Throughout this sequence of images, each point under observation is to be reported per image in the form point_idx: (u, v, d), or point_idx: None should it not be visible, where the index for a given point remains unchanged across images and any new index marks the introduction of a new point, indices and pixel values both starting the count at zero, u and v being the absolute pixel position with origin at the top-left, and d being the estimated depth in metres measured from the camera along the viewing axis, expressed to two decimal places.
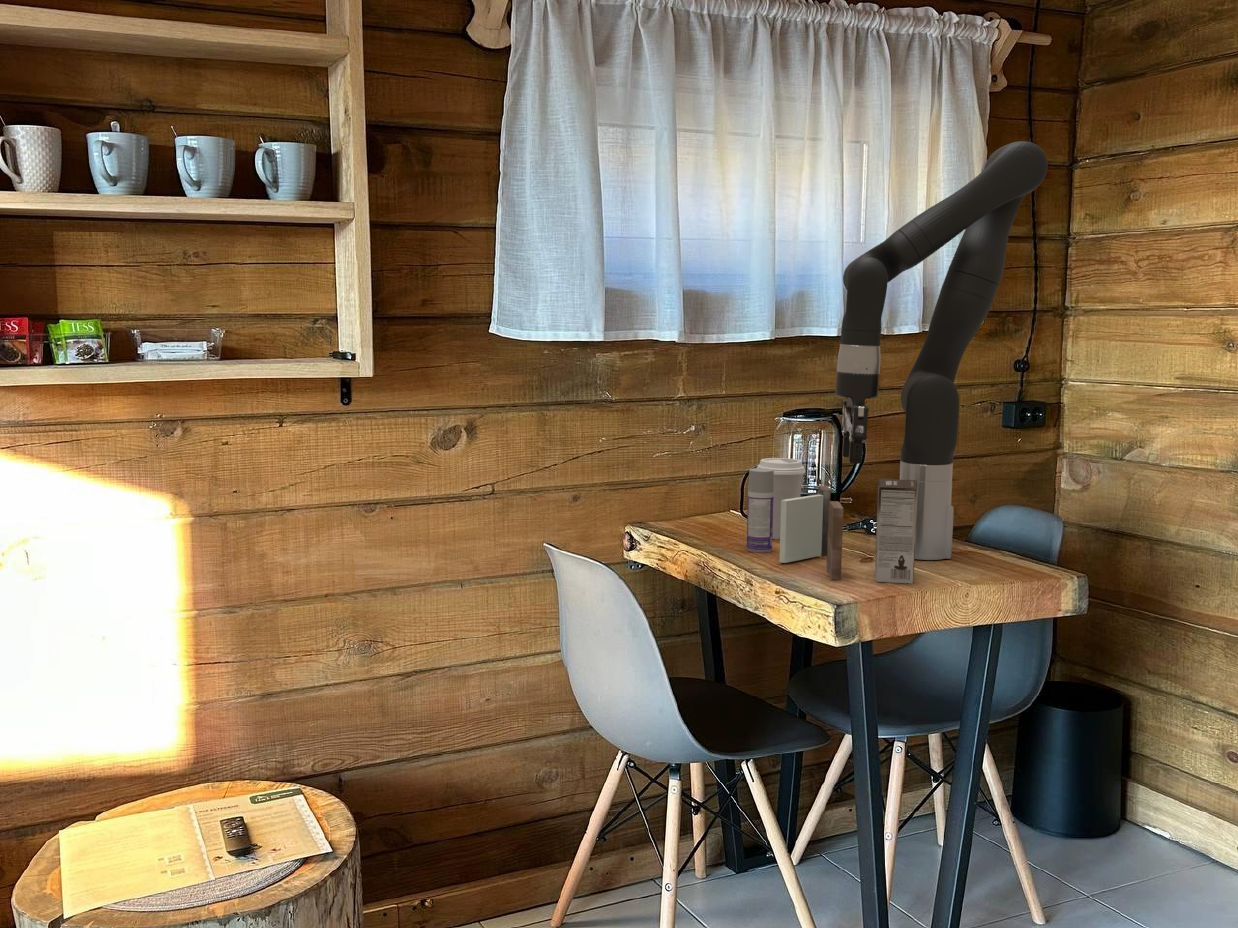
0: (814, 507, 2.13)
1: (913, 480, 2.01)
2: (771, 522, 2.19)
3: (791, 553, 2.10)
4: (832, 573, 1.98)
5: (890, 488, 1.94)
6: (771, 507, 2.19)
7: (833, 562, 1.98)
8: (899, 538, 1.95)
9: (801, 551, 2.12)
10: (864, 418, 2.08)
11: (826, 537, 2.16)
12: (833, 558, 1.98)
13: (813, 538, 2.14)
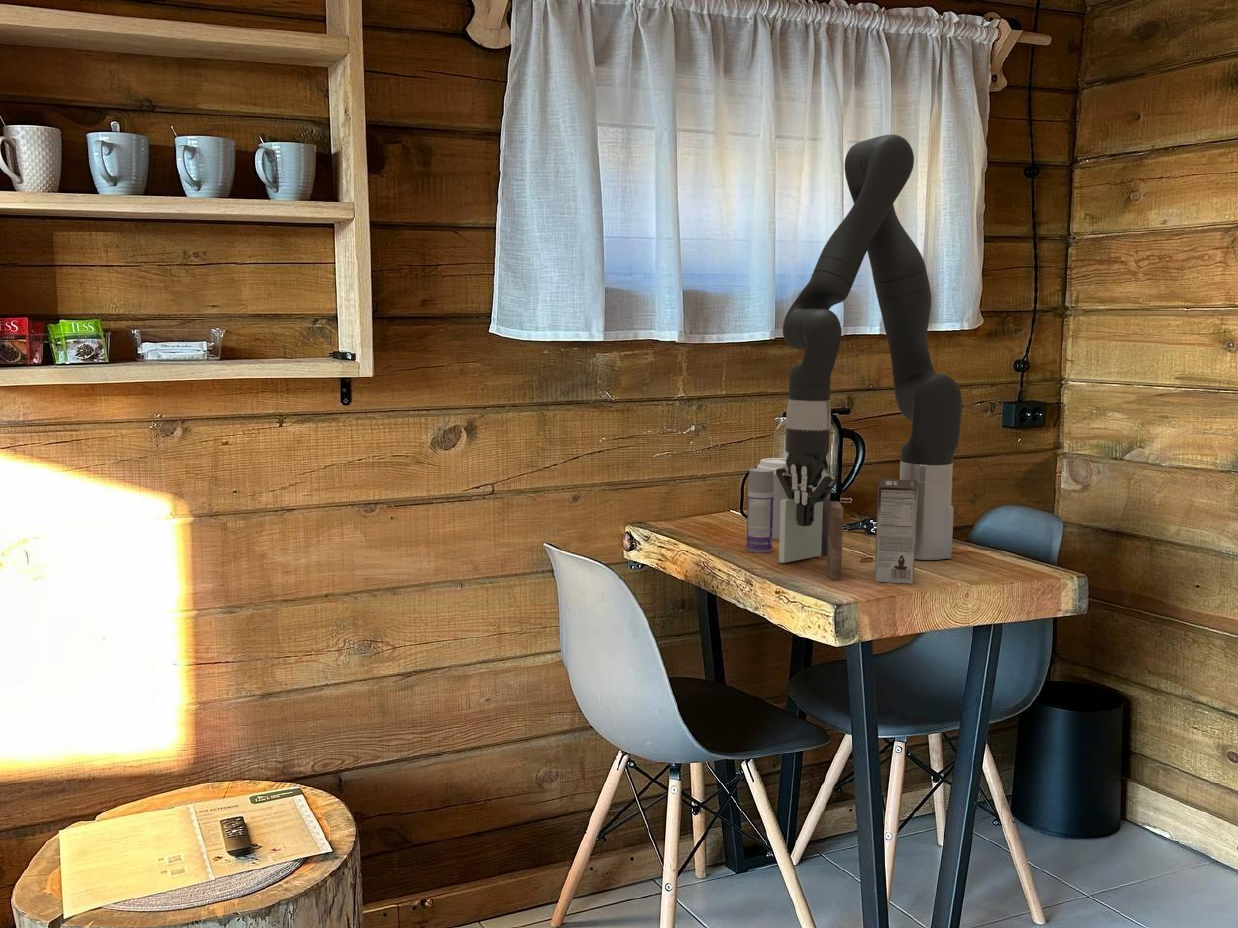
0: (814, 507, 2.13)
1: (913, 480, 2.01)
2: (771, 522, 2.19)
3: (790, 553, 2.10)
4: (832, 573, 1.98)
5: (890, 488, 1.94)
6: (771, 507, 2.19)
7: (833, 562, 1.98)
8: (899, 538, 1.95)
9: (800, 551, 2.12)
10: (830, 487, 2.03)
11: (826, 537, 2.16)
12: (833, 558, 1.98)
13: (813, 538, 2.14)
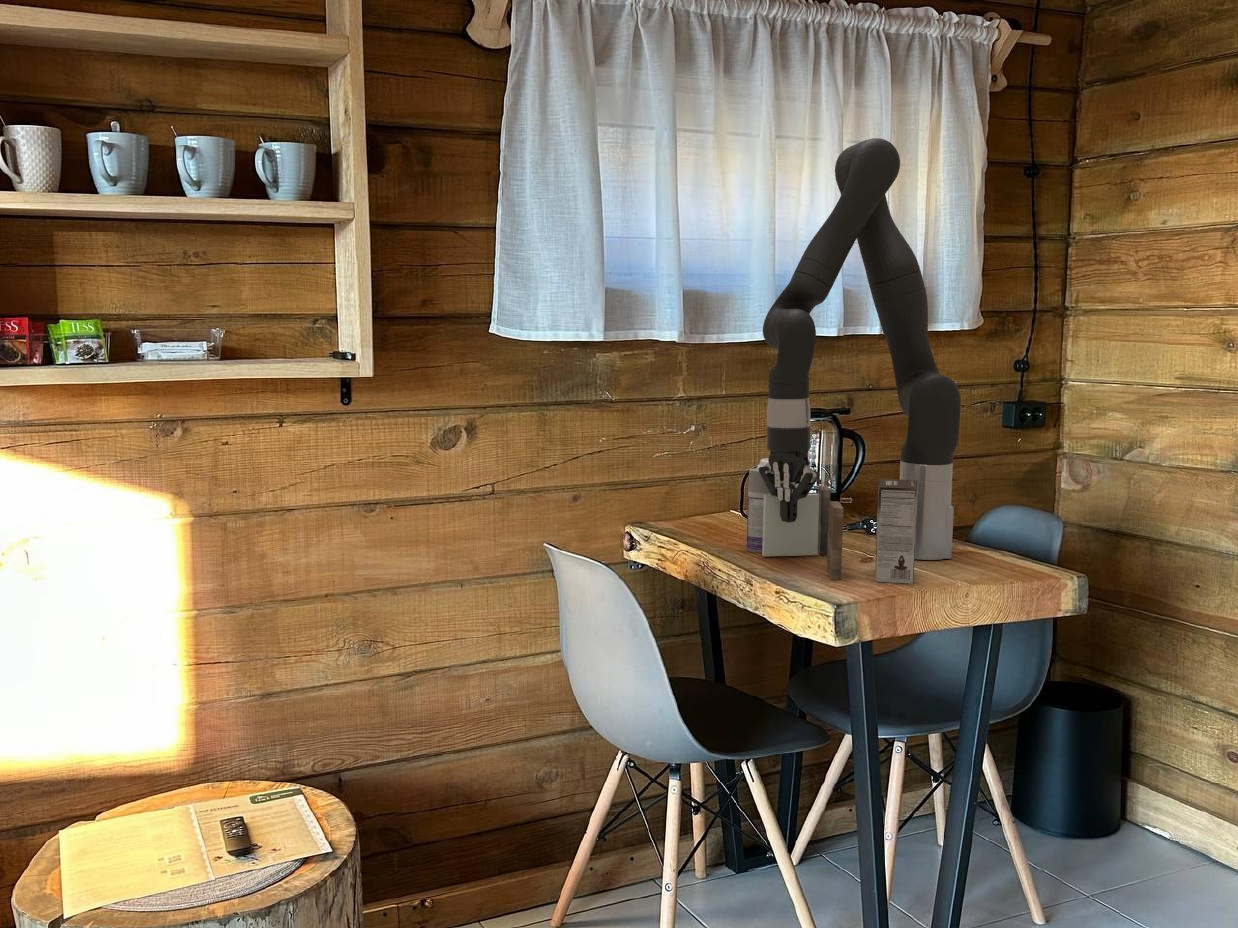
0: (806, 505, 2.14)
1: (913, 480, 2.01)
2: None
3: (773, 548, 2.14)
4: (832, 573, 1.98)
5: (890, 488, 1.94)
6: None
7: (833, 562, 1.98)
8: (899, 538, 1.95)
9: (788, 547, 2.15)
10: (812, 483, 2.07)
11: (826, 537, 2.16)
12: (833, 558, 1.98)
13: (805, 536, 2.15)
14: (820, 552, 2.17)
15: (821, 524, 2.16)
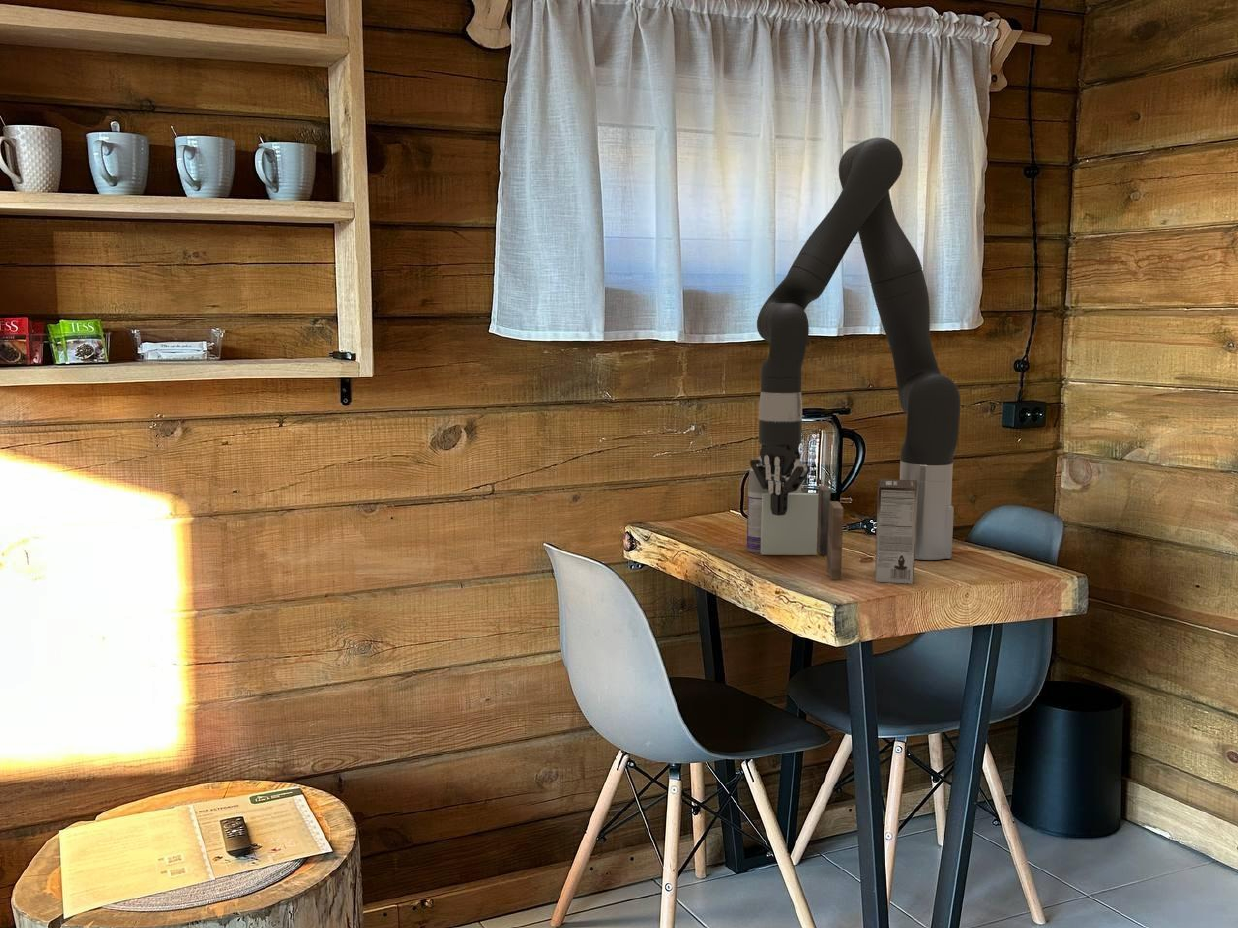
0: (805, 505, 2.15)
1: (913, 480, 2.01)
2: None
3: (771, 546, 2.16)
4: (832, 573, 1.98)
5: (890, 488, 1.94)
6: None
7: (833, 562, 1.98)
8: (899, 538, 1.95)
9: (786, 546, 2.16)
10: (803, 477, 2.08)
11: (826, 537, 2.16)
12: (833, 558, 1.98)
13: (803, 536, 2.16)
14: (820, 552, 2.17)
15: (821, 524, 2.16)
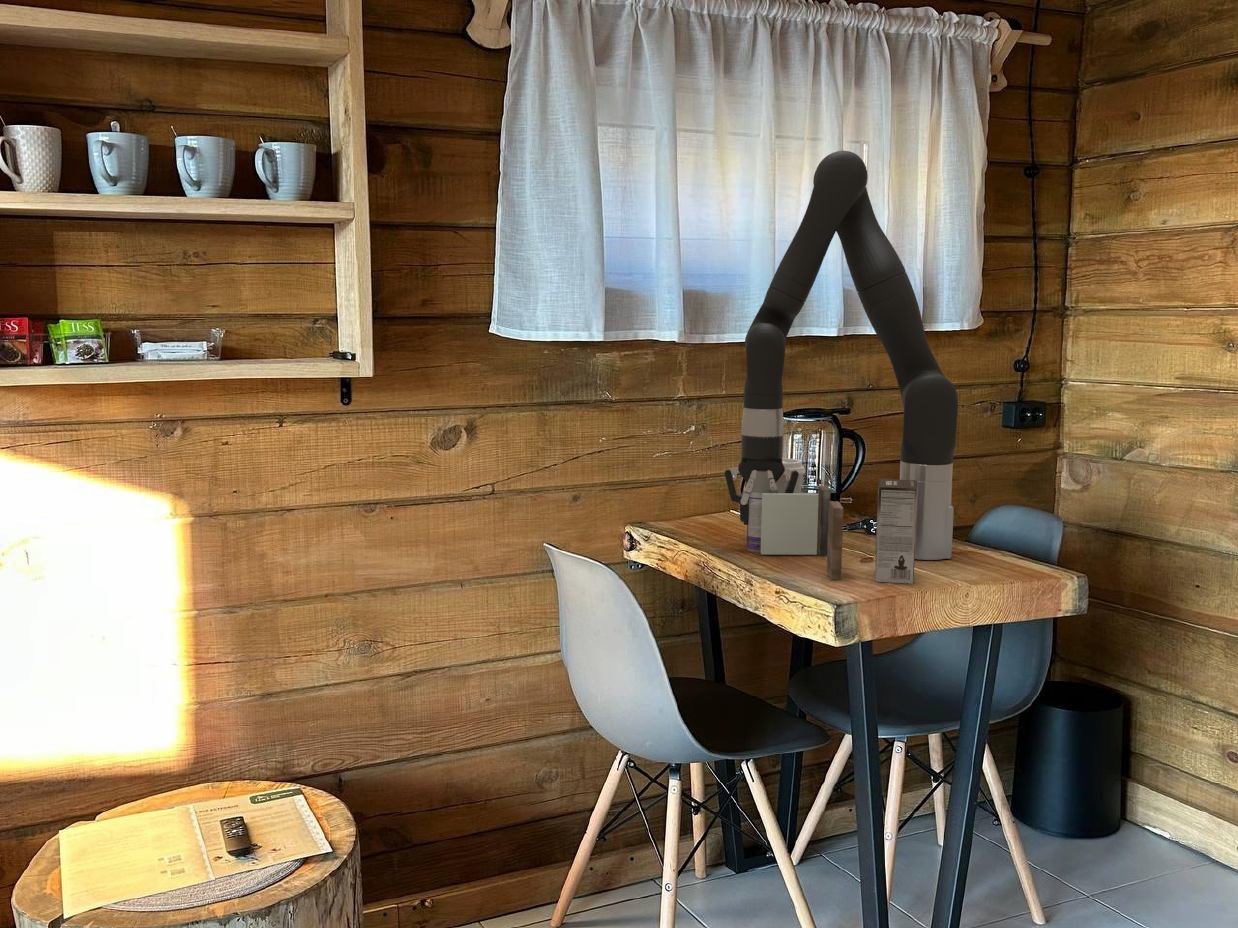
0: (805, 505, 2.15)
1: (913, 480, 2.01)
2: None
3: (771, 546, 2.16)
4: (832, 573, 1.98)
5: (890, 488, 1.94)
6: None
7: (833, 562, 1.98)
8: (899, 538, 1.95)
9: (786, 546, 2.16)
10: None
11: (826, 537, 2.16)
12: (833, 558, 1.98)
13: (803, 536, 2.16)
14: (820, 552, 2.17)
15: (821, 524, 2.16)
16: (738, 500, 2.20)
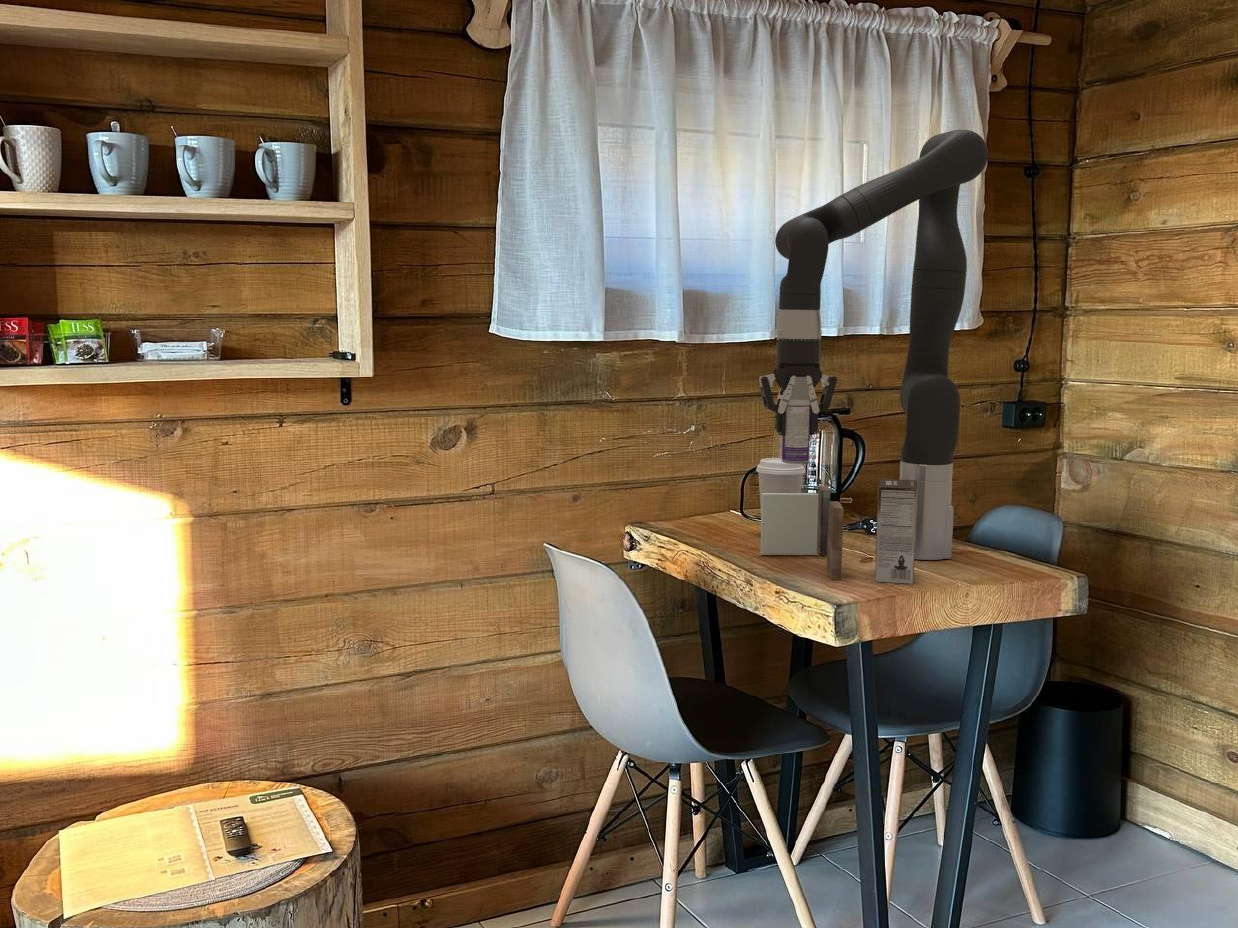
0: (805, 505, 2.15)
1: (913, 480, 2.01)
2: (809, 431, 2.07)
3: (771, 546, 2.16)
4: (832, 573, 1.98)
5: (890, 488, 1.94)
6: (809, 415, 2.07)
7: (833, 562, 1.98)
8: (899, 538, 1.95)
9: (786, 546, 2.16)
10: None
11: (826, 537, 2.16)
12: (833, 558, 1.98)
13: (803, 536, 2.16)
14: (820, 552, 2.17)
15: (821, 524, 2.16)
16: (775, 409, 2.06)
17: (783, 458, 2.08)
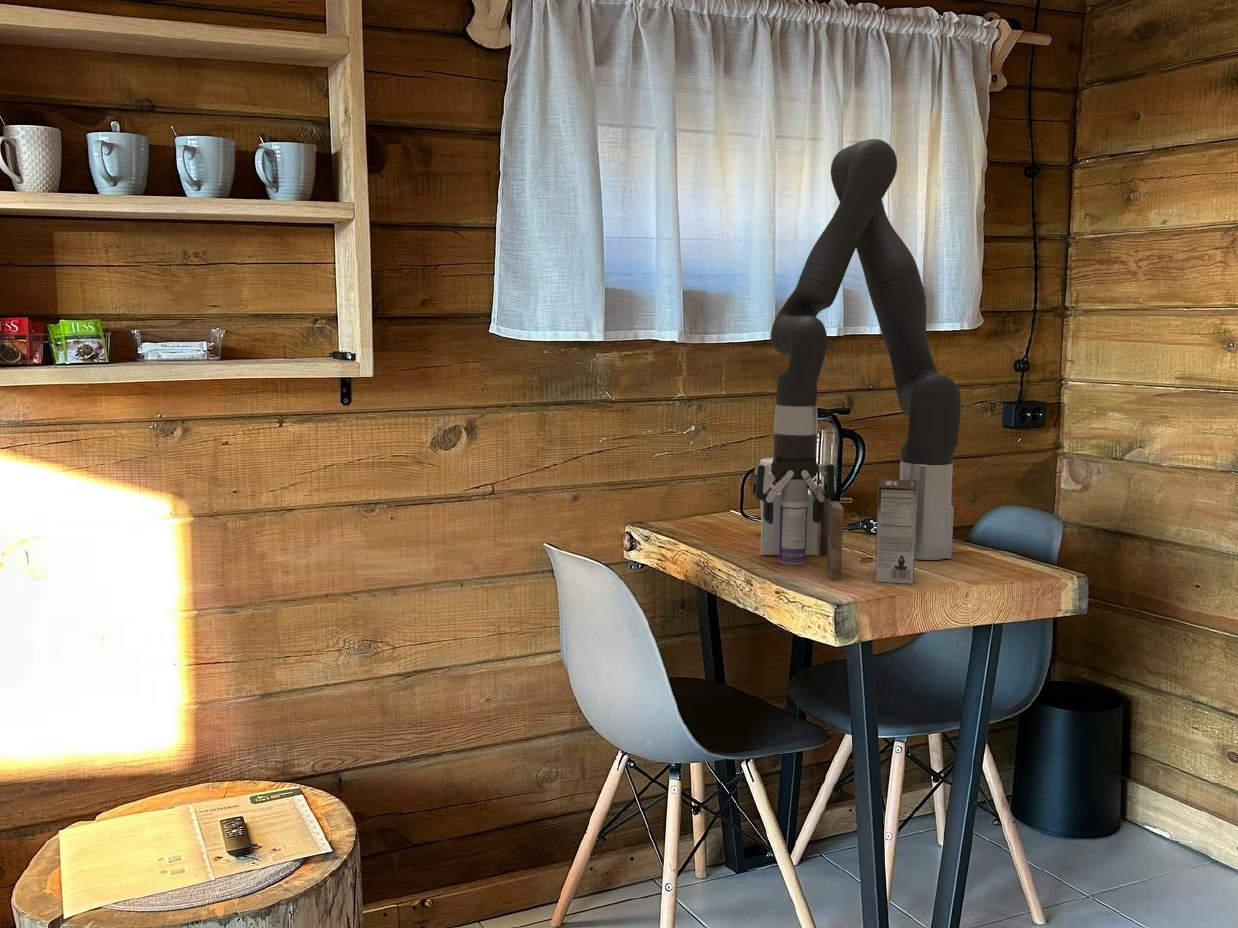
0: None
1: (913, 480, 2.01)
2: None
3: (771, 546, 2.16)
4: (832, 573, 1.98)
5: (890, 488, 1.94)
6: (806, 516, 2.09)
7: (833, 562, 1.98)
8: (899, 538, 1.95)
9: None
10: None
11: (826, 537, 2.16)
12: (833, 558, 1.98)
13: None
14: (820, 552, 2.17)
15: (821, 524, 2.16)
16: (763, 498, 2.08)
17: (780, 558, 2.10)
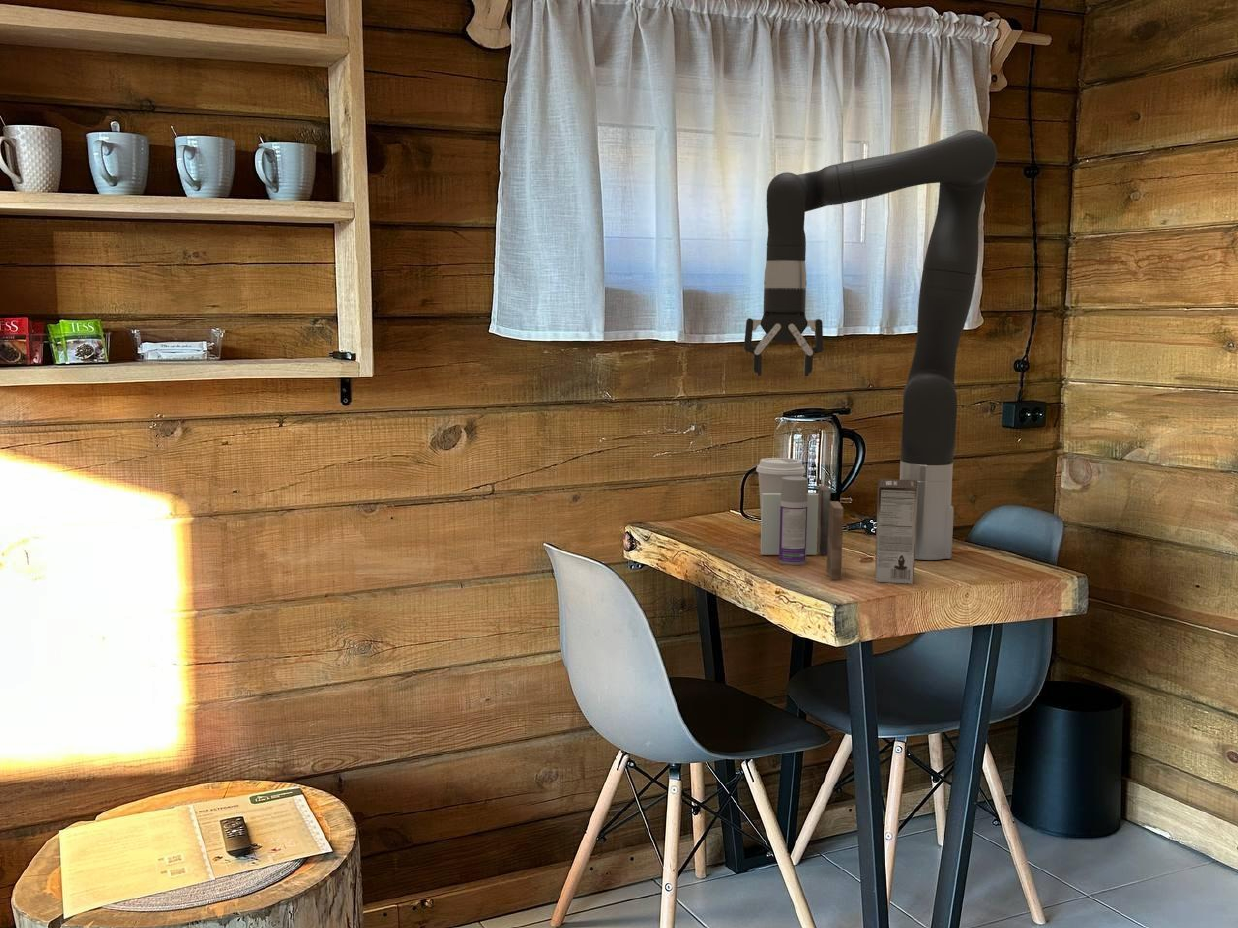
0: None
1: (913, 480, 2.01)
2: None
3: (771, 546, 2.16)
4: (832, 573, 1.98)
5: (890, 488, 1.94)
6: (806, 516, 2.09)
7: (833, 562, 1.98)
8: (899, 538, 1.95)
9: None
10: None
11: (826, 537, 2.16)
12: (833, 558, 1.98)
13: None
14: (820, 552, 2.17)
15: (821, 524, 2.16)
16: (752, 350, 2.18)
17: (780, 558, 2.10)
